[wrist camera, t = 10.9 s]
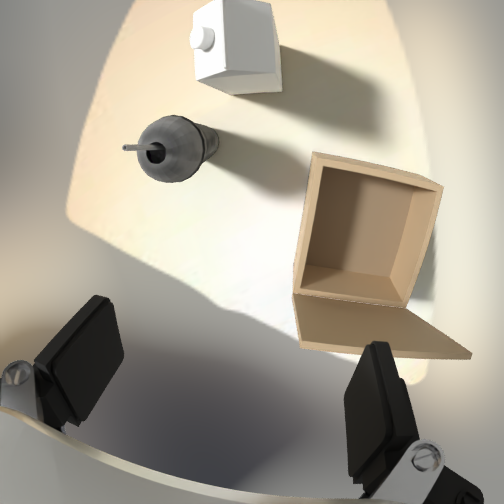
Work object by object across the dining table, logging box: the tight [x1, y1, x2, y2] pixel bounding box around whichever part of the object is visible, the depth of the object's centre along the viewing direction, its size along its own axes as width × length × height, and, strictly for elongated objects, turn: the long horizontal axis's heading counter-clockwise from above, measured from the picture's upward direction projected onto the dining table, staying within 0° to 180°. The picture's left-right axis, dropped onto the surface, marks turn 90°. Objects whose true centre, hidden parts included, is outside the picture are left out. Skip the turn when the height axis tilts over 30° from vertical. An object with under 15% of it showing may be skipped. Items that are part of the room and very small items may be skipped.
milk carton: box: [190, 0, 283, 95], centre depth 26 cm, size 7×7×19 cm
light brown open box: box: [293, 152, 444, 308], centre depth 38 cm, size 17×16×8 cm
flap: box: [292, 293, 472, 360], centre depth 29 cm, size 17×16×6 cm
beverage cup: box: [122, 115, 219, 183], centre depth 31 cm, size 7×7×20 cm
